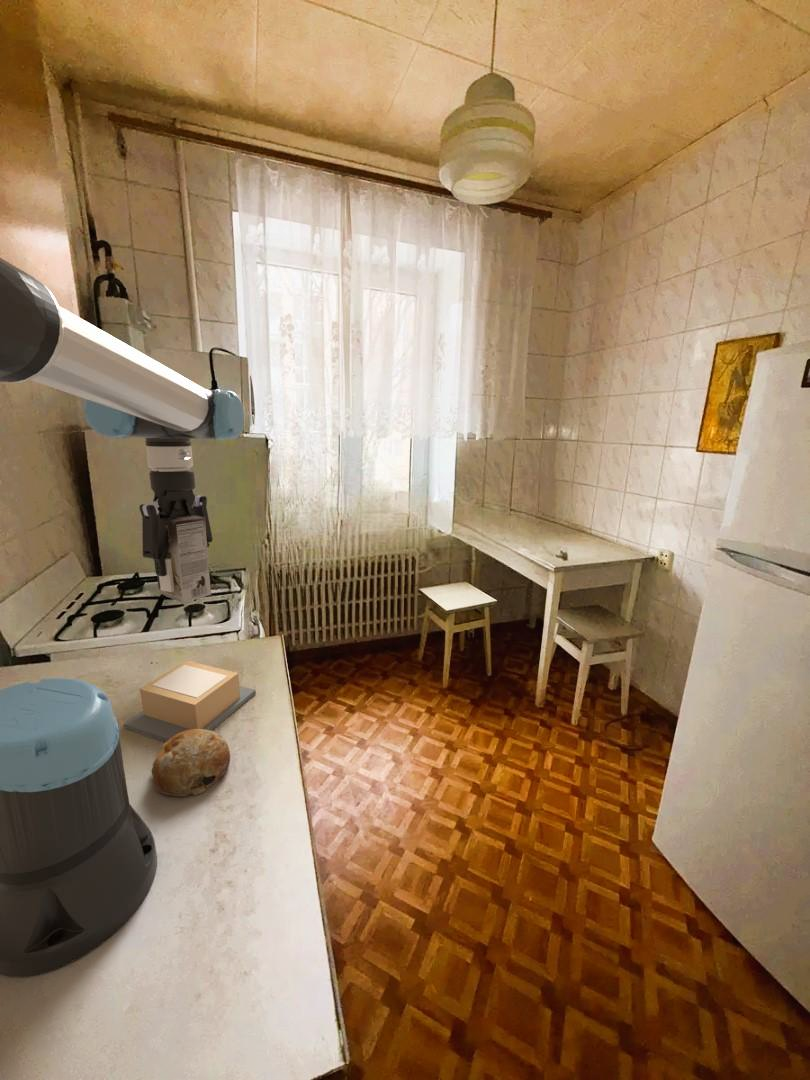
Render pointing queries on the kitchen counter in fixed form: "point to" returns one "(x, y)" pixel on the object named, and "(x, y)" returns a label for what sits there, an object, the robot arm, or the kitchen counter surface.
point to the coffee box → (188, 558)
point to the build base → (188, 701)
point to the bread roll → (190, 762)
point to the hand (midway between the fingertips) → (184, 583)
